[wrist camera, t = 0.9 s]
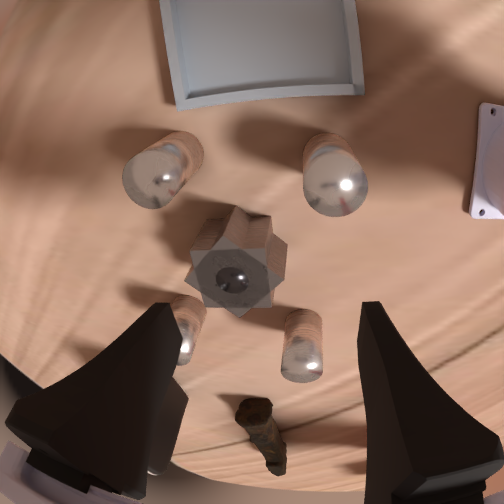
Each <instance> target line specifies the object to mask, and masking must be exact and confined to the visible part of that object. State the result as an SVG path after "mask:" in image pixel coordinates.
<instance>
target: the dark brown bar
mask: <svg viewBox="0 0 504 504" xmlns="http://www.w3.org/2000/svg"><path fill="white" fill-rule="evenodd" d="M272 406H273V404H272V403H271V401H270V400H269V399H258V398H255V399H247V400H244V401H243V402H241V404H240V405H239V409H238V411H237V412H236V416H235V421H236V422H237V423H238V424H239V425H240V426H242V427H244V428H245V429H246V430H247V432H248V433H249V435H250V442H252V443H255V445H256V446H257V447H258V449H259V450H260V452H261V453H262V454H263V456H264V457H265V460H266V467H267V468H268V470H269V471H271V473H272V474H274V475H276V476H281V475H284V474H285V473H286V463H287V457H286V452H287V450H286V443H285V442H283V441H282V439H281V435H280V434H279V432H278V428H277V425H276V422H275V421H274V419H273V417H272Z"/></svg>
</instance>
